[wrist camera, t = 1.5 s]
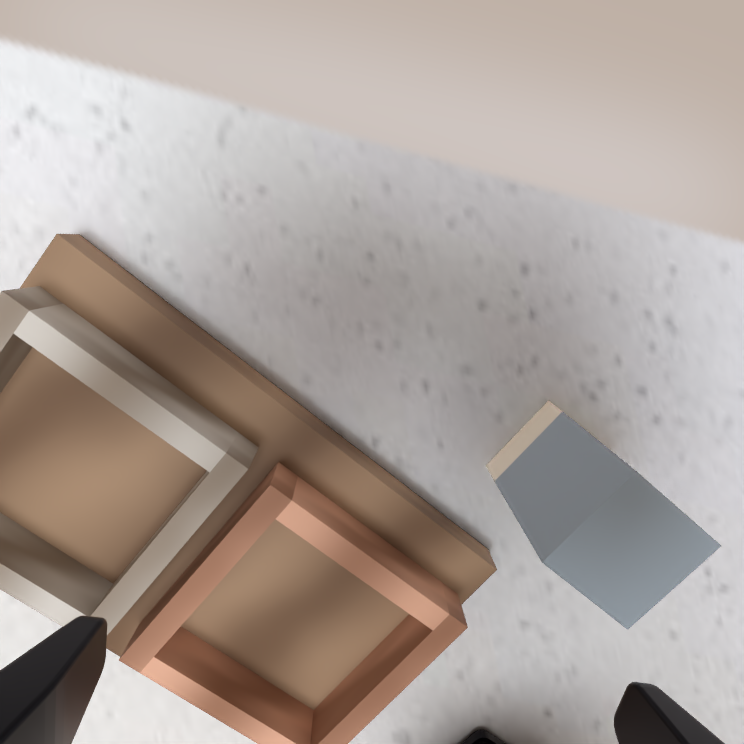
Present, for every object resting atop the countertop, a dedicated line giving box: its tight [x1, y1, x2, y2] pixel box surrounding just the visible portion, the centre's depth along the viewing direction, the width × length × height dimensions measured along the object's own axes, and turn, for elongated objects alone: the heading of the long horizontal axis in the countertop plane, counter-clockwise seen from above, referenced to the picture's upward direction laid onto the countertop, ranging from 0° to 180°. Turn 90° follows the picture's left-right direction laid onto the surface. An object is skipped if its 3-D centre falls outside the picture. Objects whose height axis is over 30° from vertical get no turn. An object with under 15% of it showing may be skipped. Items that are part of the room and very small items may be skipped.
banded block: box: [486, 400, 721, 629], centre depth 19 cm, size 4×4×7 cm
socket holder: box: [0, 234, 497, 744], centre depth 21 cm, size 22×14×4 cm, turn 50°
